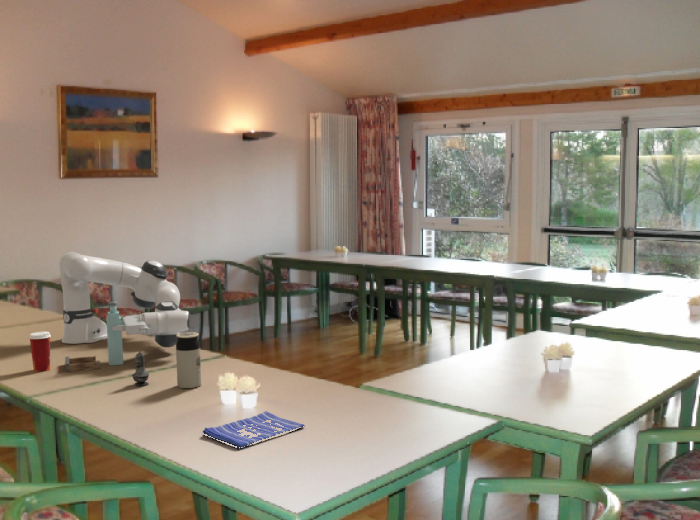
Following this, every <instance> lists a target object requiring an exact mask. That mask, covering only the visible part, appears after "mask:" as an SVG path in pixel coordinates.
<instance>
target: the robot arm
mask: <svg viewBox="0 0 700 520" xmlns="http://www.w3.org/2000/svg"><path fill="white" fill-rule="evenodd" d="M58 264H59V273H60V274H59V275H60V282H61V283H60V284H61V288H62V289H61V290H62V297H63V298H62V299H63V310H62V318H63V333H62V339H61V342H62V343H63V344H73V345H74V344H93V343H96V342H99V341H103V340H107V322H106V321H103V320H101V319H100V318H99V317H97V316H95V314H98V313H99V311H100V310H99V308H92V307H91V293H90V291H91V290H90V287H89V283H90V282H91V283H97V284H103V285H109V286H115V287H119V288H121V287H123V288H129V289H131V290H133V292H130V296H131V297H132V301H133V304H135V306H137V307H139V308H141V309H149V310H151V309H153V308H155V309H154V311H151V312H142V313H141V314H132V315H126V316H124V317H123V316H122V320H121V325H118V326H117V325H113V326H112V330H113V331H122V332H125V334H126V335H130V336H131V335H139V334H144V336H152V335H153V336H154V342H156V344H158V345H159V347H162V348H171V347H172V348H173V347H174V346H175V347H176V343H177V341H178V339H177V336H176V335H177V334H179V333H184V332H188V331H189V330H190V327H191V314H190V313H191V312H190V311H188V310H183V309H181V308H179V307H180V303H181V292H180V290H179V288H178V286H177V285H176V284H175V283H173V282H171V281H168V280H167V278H168V277H169V274H168V273H167V270H166V267H165V265H164V264H162V263H160V262H159V261H156V260H147V261H145V262H144V263H143V264H142V267H139V266H136V265H134V264H130V263H127V262H124V261H123V262H122V261H118V260H113V259H108V258H103V257H96V256H91V255H84V254H81V253H78V252H75V251H69V252H66V253H65V254H63V255H62V256H61V258H60V259H59V263H58ZM88 282H89V283H88ZM94 313H95V314H94Z"/></svg>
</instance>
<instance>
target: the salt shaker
mask: <svg viewBox="0 0 700 520" xmlns="http://www.w3.org/2000/svg"><path fill="white" fill-rule="evenodd" d="M134 366H135V372H134V373H132V375H131V376H132V379H133V382H134V383H133V384H132V385H133V387H136V388H139V387H141V388H142V387H146V386H149V385H150V383H149V382H148V380H149V377H150V372H147V371H146V368H145V367H146V362H145V355H144V353H142V352H141V350H139V351H138V353H136V355H135V363H134Z"/></svg>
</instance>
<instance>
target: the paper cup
mask: <svg viewBox="0 0 700 520" xmlns="http://www.w3.org/2000/svg"><path fill="white" fill-rule="evenodd" d="M51 335H52V334H50V332H49V331H36V332H31V333H30V334H29V337H28V339H29V343H30V353H31V358H32V367H33V371H34V372H35V371H36V372H35V373H42V372H41V371H44V372H47V370H48V371H50V369H51V337H52V336H51Z"/></svg>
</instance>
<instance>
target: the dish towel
mask: <svg viewBox="0 0 700 520" xmlns="http://www.w3.org/2000/svg"><path fill="white" fill-rule="evenodd" d="M266 420H271V423H269V422H265V421H266ZM262 422H265V423H262ZM275 423H278V424H280V425H282V426H284V427H282V426H279V425H277V424H275ZM251 424H253V425H251ZM270 424H271V425H270ZM243 425H246V426H245V427H244V426H243ZM256 425H257V426H256ZM265 425H266V426H265ZM271 426H273V427H275V428H272V427H271ZM303 426H304V427H306V426H305V424H302V423H299V422H296V421H292V420H289V419H285V418H282V417H280V416H279V417H278V416H277V415H275V414H273V413H270V412H269V411H266V410H265V411H263V412H261V413H259V414H257V415H253V416H252V417H247V418H244V419H240V420H237V421H233V422H230V423H226V424H223V425H218V426H216V427H213V426H211V427H204V429H203V431H202V434H203V433H204V434H207V435H208V436H211V437H213V438H215V439H218V440H221V441H224V442H227V443H229V444H232V445H234V446H237V448H239V447H240V448H241V447H244V446H247V445H250V444H252V443H254V442H257V441H259V440H262V439H266V438H269V437H272V436H275V435H276V434H280V433H283V432H286V431H290V430H293V429H296V428H299V427H303ZM248 427H252V428H251V429H250V428H248ZM276 427H277V428H282V430H281V431H278V430H277V429H276ZM304 427H303V428H304ZM258 428H260V429H258ZM242 429H245V431H247V432H251V433H253V434H256V435H257V433H261V435H258V436H257V437H252V438H248V437H249V436H250V435H247V436H246V435H244V436H241V435H239V434H241V433H243V432H241V433H240V432H237V431H239V430H242ZM254 429H255V430H256V431H253V430H254ZM275 429H276V430H275ZM274 431H277V432H274ZM244 448H245V447H244Z"/></svg>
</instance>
